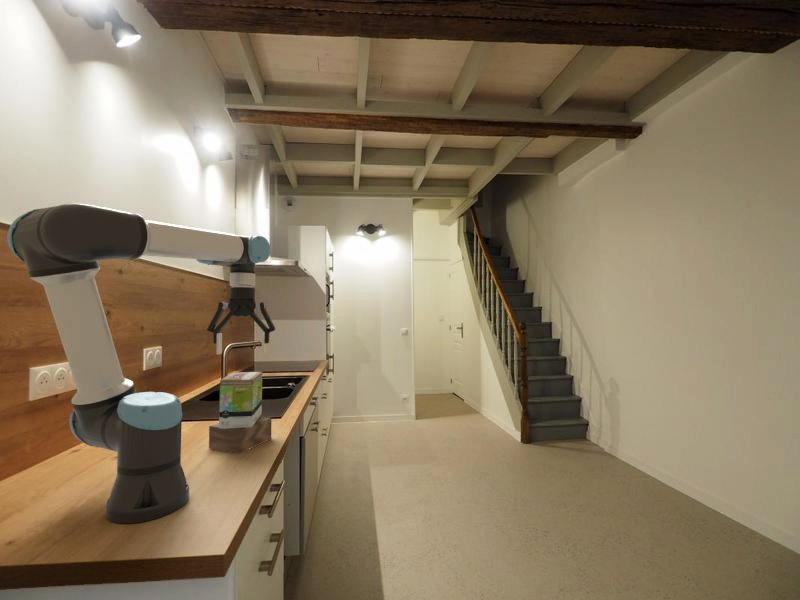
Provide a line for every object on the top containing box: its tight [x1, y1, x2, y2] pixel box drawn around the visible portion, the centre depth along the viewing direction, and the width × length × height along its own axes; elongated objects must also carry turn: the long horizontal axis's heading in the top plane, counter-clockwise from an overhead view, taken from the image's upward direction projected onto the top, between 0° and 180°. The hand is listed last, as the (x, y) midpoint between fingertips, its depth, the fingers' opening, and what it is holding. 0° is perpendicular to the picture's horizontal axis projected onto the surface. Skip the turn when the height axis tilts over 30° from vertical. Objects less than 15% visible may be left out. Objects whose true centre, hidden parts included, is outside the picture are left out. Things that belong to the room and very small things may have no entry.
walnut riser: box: [208, 416, 272, 454], centre depth 125 cm, size 14×12×7 cm
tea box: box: [218, 371, 263, 429], centre depth 125 cm, size 15×10×15 cm
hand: (241, 354), depth 125 cm, fingers open, 13 cm apart
